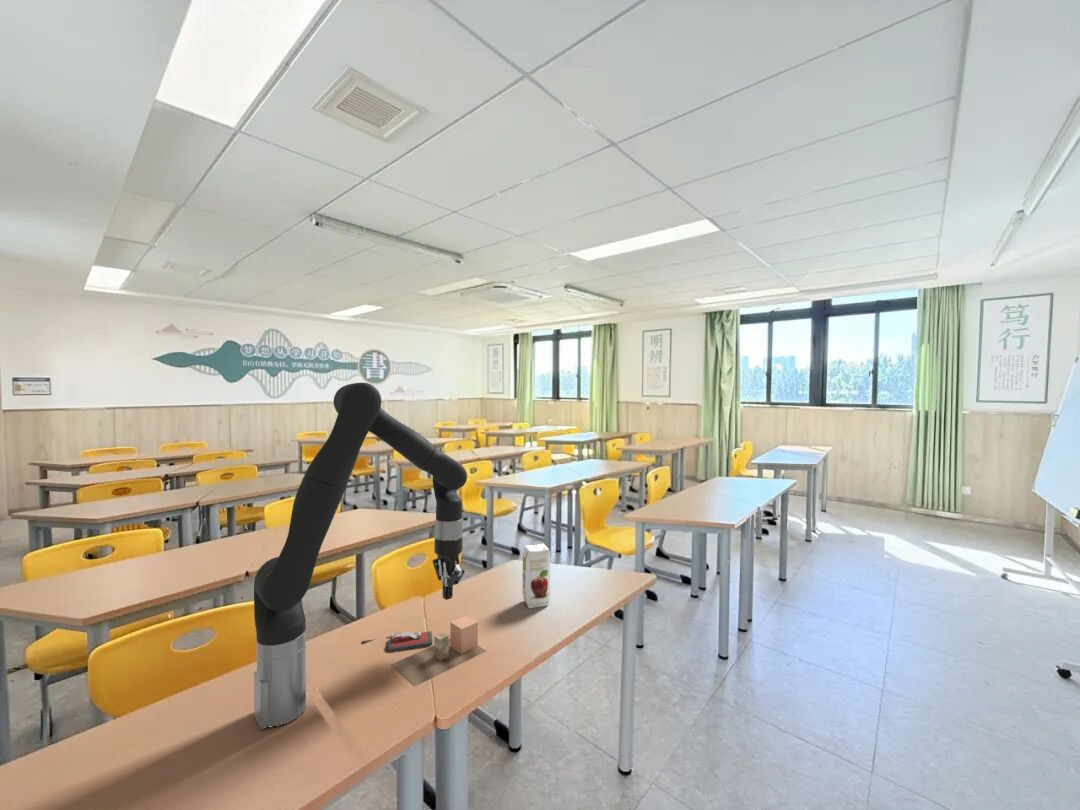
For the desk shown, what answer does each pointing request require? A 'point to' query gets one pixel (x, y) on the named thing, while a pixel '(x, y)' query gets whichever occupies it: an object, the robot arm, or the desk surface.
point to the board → (433, 660)
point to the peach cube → (464, 634)
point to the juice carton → (536, 575)
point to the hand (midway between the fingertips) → (447, 598)
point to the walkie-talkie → (407, 641)
